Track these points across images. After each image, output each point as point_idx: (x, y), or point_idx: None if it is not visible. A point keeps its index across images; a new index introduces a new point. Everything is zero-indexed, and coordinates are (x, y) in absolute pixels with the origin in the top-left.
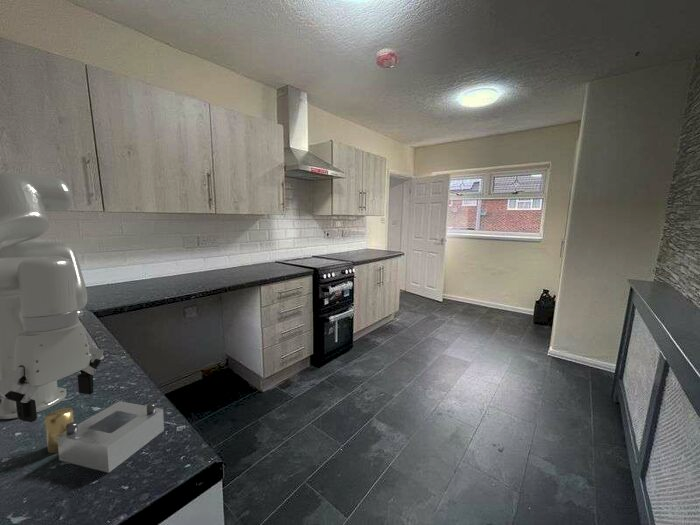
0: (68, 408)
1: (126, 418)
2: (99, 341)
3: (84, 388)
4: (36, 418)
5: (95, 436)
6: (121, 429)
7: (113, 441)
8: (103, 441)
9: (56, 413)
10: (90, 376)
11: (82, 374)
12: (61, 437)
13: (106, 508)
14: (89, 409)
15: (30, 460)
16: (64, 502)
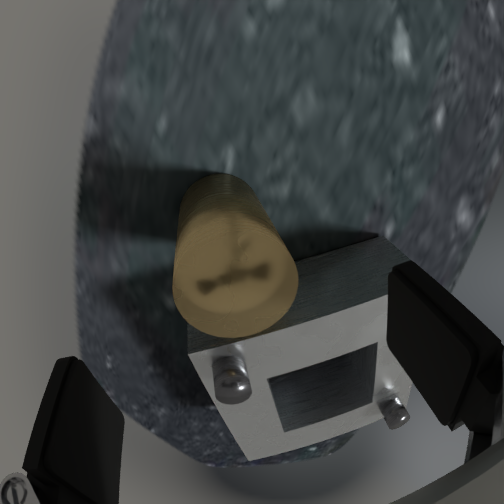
0: (288, 271)
1: (366, 354)
2: None
3: (407, 338)
4: (122, 420)
5: (257, 423)
6: (306, 432)
7: (267, 455)
8: (256, 445)
9: (228, 277)
10: (455, 427)
11: (478, 395)
12: (195, 367)
13: (201, 450)
14: (386, 27)
15: (133, 206)
16: (161, 412)
